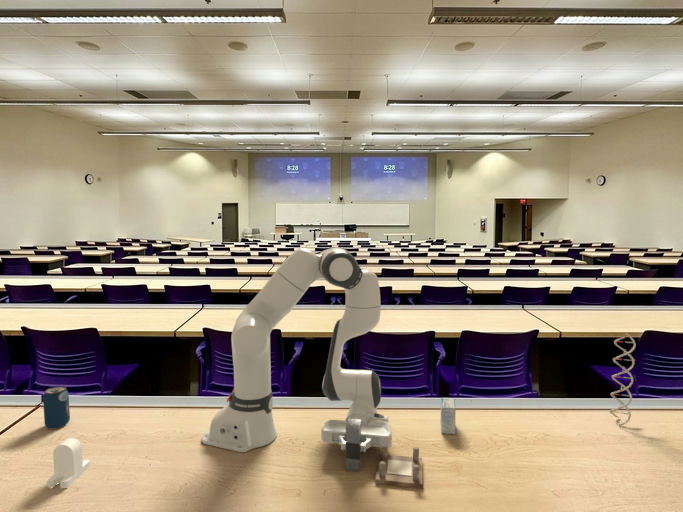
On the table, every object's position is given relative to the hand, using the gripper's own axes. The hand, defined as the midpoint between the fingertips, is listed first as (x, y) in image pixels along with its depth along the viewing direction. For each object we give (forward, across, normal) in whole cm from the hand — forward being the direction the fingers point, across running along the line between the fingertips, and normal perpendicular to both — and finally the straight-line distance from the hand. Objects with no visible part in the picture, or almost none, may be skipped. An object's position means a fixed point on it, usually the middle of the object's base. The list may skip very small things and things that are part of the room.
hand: (353, 448), depth 116 cm
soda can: (-8, -99, +6) cm, 100 cm away
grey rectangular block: (-1, 0, +6) cm, 6 cm away
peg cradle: (-1, +12, +6) cm, 14 cm away
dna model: (-42, +84, +6) cm, 94 cm away
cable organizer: (+16, -73, +6) cm, 75 cm away
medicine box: (-28, +27, +6) cm, 39 cm away
